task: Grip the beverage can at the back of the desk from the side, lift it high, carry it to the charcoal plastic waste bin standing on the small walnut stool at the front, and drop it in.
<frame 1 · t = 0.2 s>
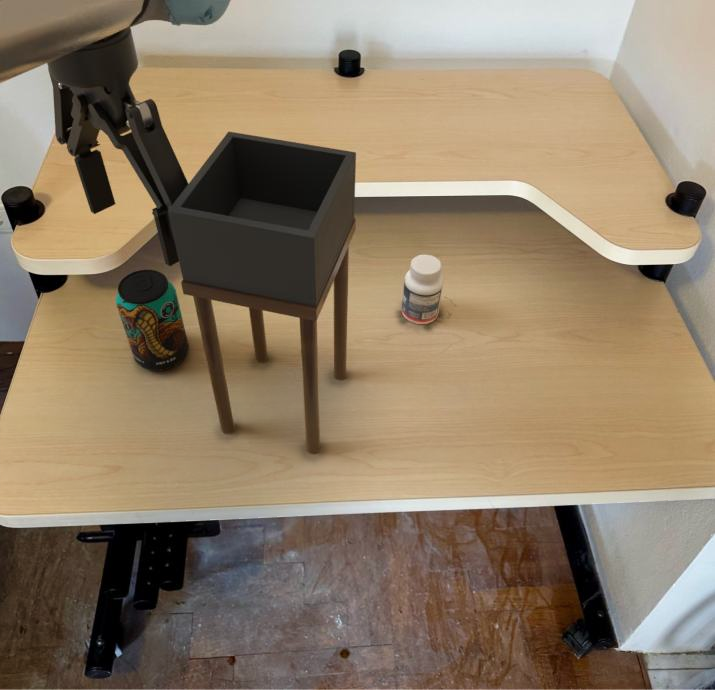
hand: (139, 232, 72), 20 cm above the table, tool pointing down, fingers open, 13 cm apart
stool: (285, 400, 83), on the table
pill bottle: (419, 313, 94), on the table
beverage can: (162, 354, 88), on the table
trash bin: (273, 248, 65), resting on stool
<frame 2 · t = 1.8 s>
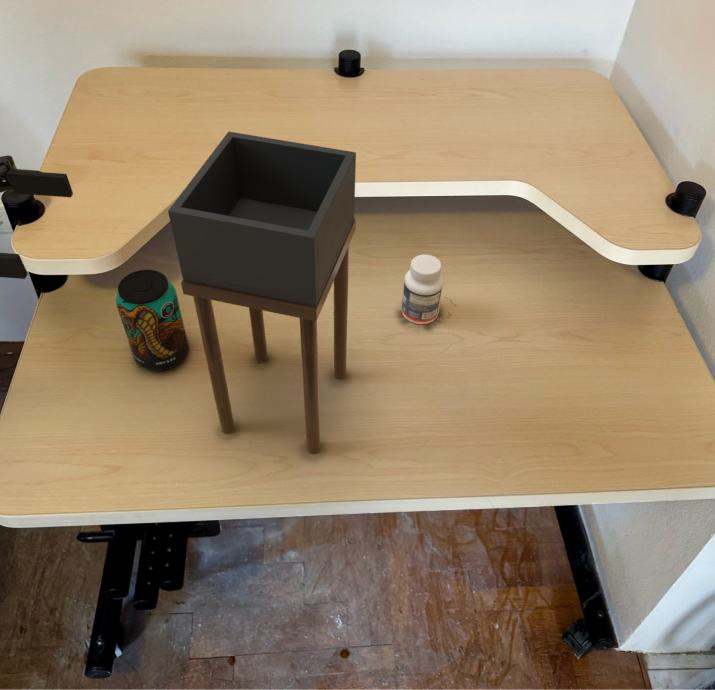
hand: (47, 223, 72), 21 cm above the table, tool horizontal, fingers open, 13 cm apart
nothing on the table moved.
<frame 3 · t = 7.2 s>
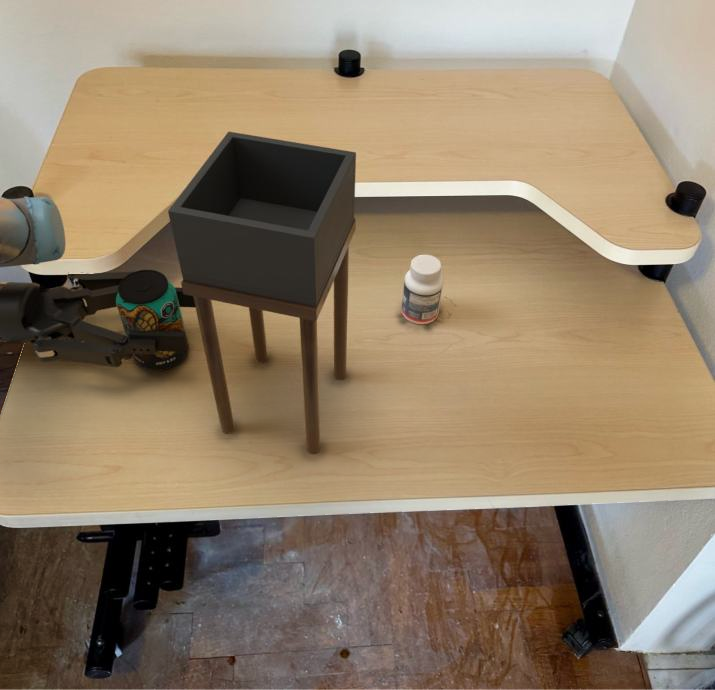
hand: (192, 319, 83), 7 cm above the table, tool horizontal, fingers closed on beverage can, 7 cm apart
beverage can: (162, 354, 88), on the table, touching gripper
everything else where it was.
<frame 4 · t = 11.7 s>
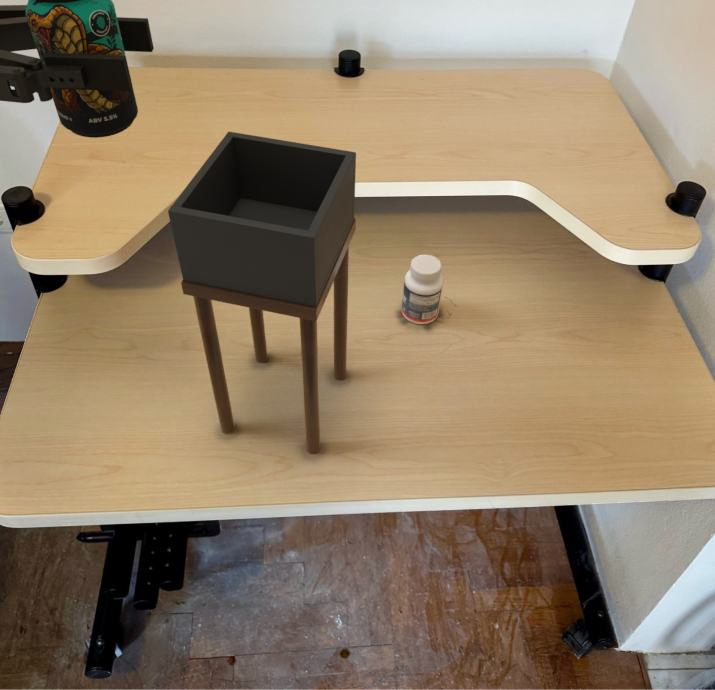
hand: (139, 53, 58), 40 cm above the table, tool horizontal, fingers closed on beverage can, 7 cm apart
beverage can: (102, 123, 63), point 33 cm above the table, touching gripper
everything else where it was.
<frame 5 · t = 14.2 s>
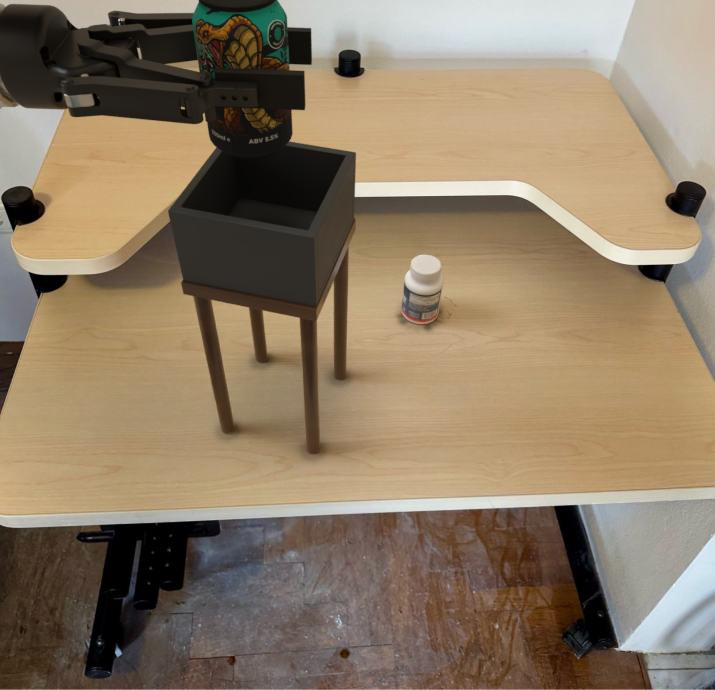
hand: (307, 67, 53), 42 cm above the table, tool horizontal, fingers closed on beverage can, 7 cm apart
beverage can: (252, 143, 57), point 35 cm above the table, touching gripper
everything else where it was.
when the fingers open (37 cm above the table, at t = 16.3 s): beverage can drops 6 cm, resting on trash bin.
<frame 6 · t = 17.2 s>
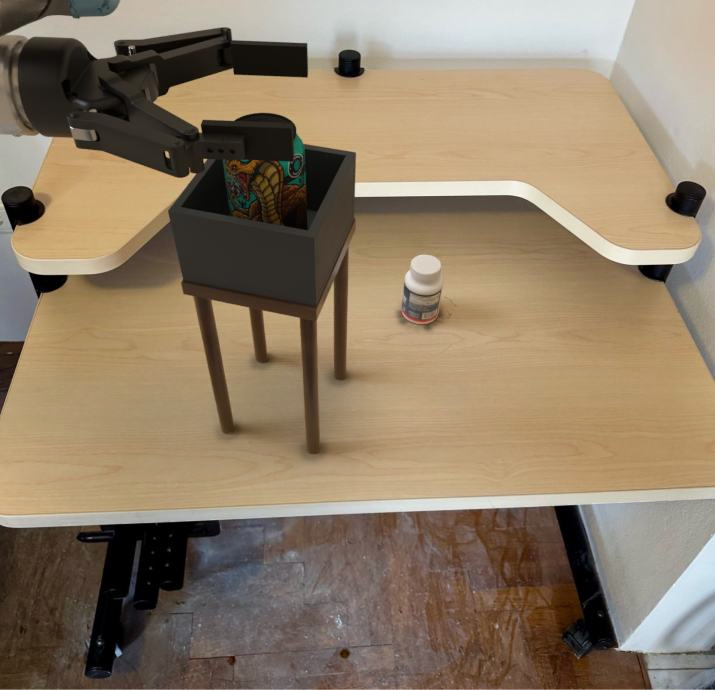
hand: (301, 98, 54), 40 cm above the table, tool horizontal, fingers open, 13 cm apart
beverage can: (271, 245, 64), point 25 cm above the table, touching trash bin
everything else where it was.
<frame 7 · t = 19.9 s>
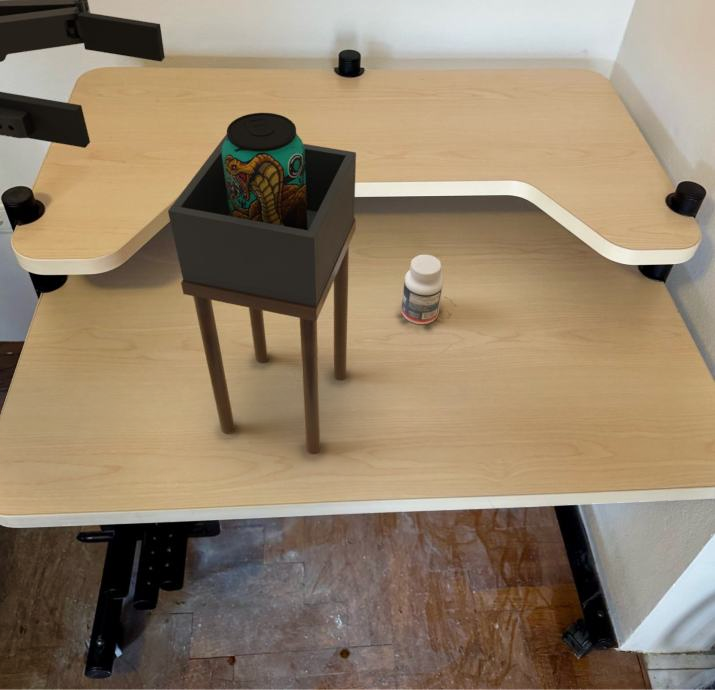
hand: (126, 81, 49), 42 cm above the table, tool horizontal, fingers open, 13 cm apart
nothing on the table moved.
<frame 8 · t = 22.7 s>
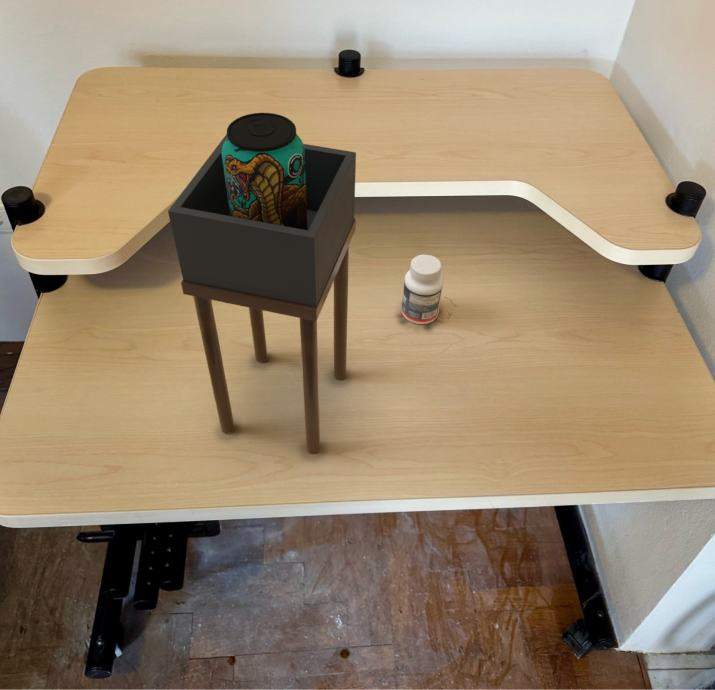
nothing on the table moved.
at the end: beverage can inside the target area on the trash bin (0.3 cm from its centre), point 0.6 cm above the trash bin's base; the gripper is holding nothing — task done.
